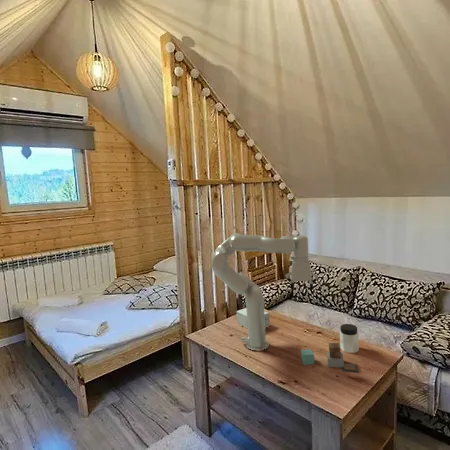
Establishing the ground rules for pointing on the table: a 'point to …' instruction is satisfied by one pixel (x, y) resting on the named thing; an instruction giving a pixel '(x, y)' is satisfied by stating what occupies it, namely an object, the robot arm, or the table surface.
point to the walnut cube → (334, 350)
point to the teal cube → (307, 357)
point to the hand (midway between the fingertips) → (301, 290)
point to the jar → (349, 338)
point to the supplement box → (243, 318)
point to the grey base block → (335, 361)
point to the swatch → (350, 368)
